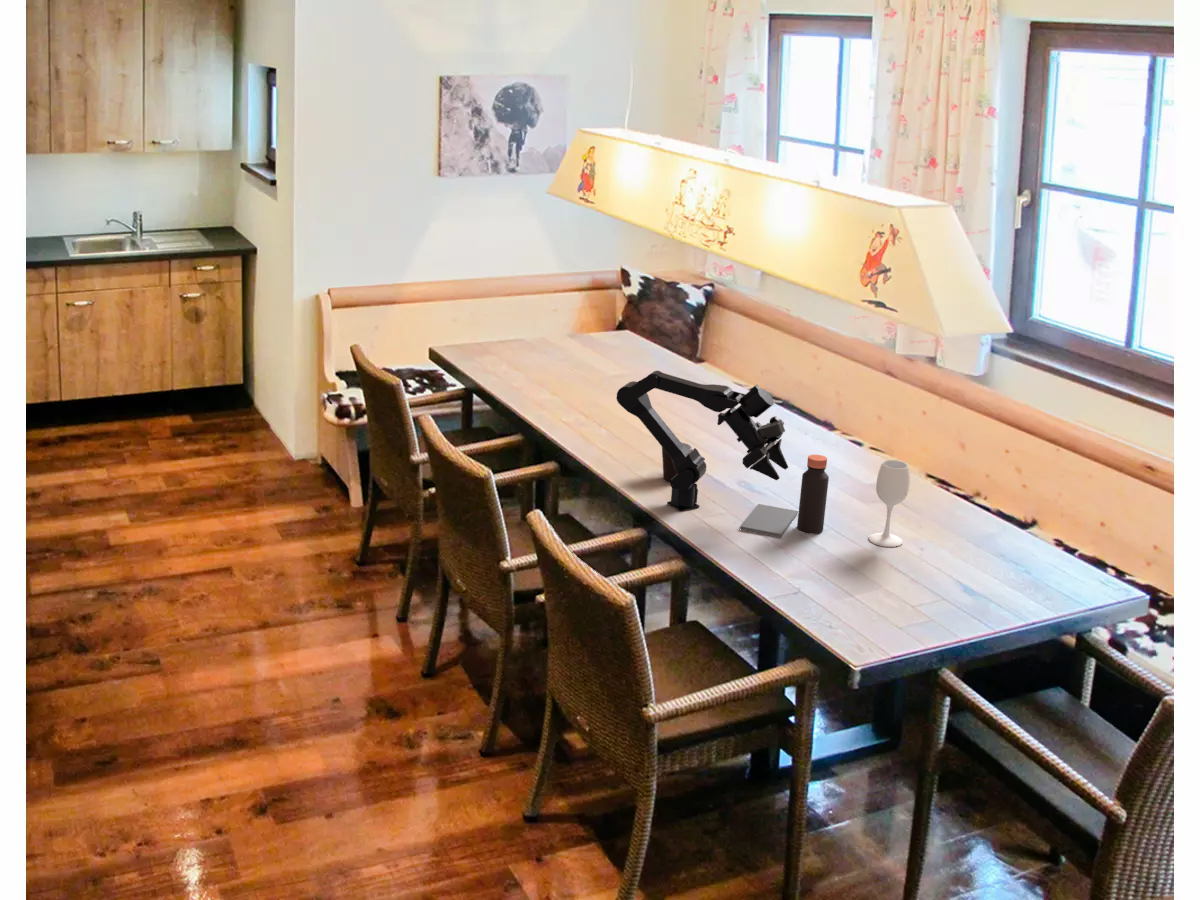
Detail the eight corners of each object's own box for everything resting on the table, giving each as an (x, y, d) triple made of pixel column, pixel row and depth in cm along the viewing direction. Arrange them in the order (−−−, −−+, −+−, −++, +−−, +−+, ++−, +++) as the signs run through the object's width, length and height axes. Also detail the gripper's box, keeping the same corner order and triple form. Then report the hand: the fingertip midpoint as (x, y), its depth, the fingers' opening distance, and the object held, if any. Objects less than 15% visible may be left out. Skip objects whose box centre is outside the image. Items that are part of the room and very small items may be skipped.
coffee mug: (678, 487, 365) (681, 453, 362) (653, 479, 370) (655, 446, 367) (701, 477, 374) (703, 444, 371) (676, 469, 379) (678, 437, 376)
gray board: (739, 529, 337) (740, 526, 337) (758, 507, 353) (758, 503, 353) (781, 537, 334) (781, 534, 333) (797, 514, 350) (797, 511, 349)
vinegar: (794, 532, 338) (802, 459, 331) (799, 523, 344) (806, 451, 337) (820, 536, 336) (828, 463, 329) (824, 527, 342) (832, 455, 335)
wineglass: (867, 544, 332) (877, 467, 325) (869, 532, 340) (878, 456, 333) (902, 549, 330) (912, 471, 323) (903, 536, 338) (913, 460, 331)
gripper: (757, 419, 326) (797, 467, 326) (776, 400, 343) (814, 446, 343) (725, 444, 332) (764, 491, 331) (745, 424, 348) (782, 469, 348)
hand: (782, 473), depth 338 cm, fingers open, 9 cm apart
